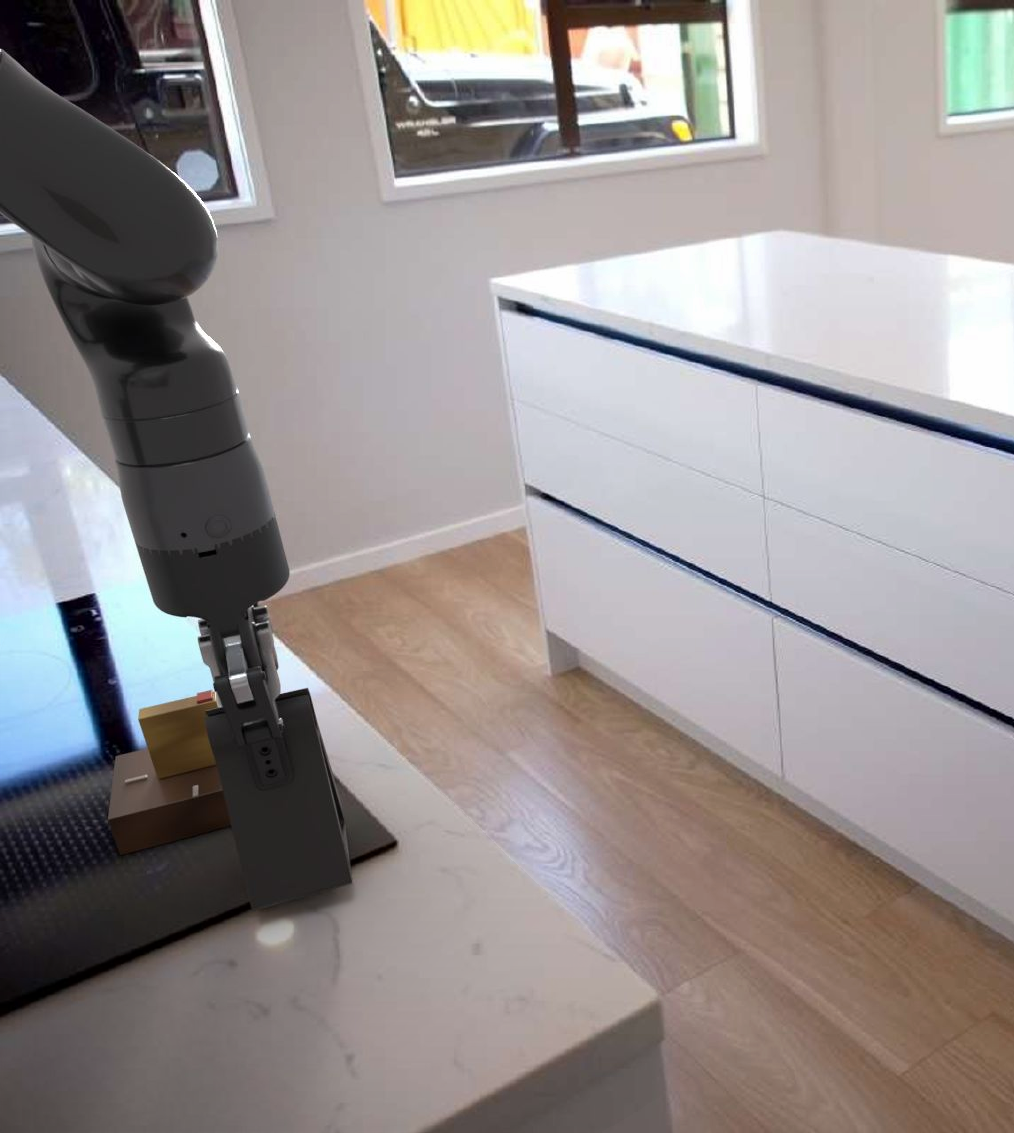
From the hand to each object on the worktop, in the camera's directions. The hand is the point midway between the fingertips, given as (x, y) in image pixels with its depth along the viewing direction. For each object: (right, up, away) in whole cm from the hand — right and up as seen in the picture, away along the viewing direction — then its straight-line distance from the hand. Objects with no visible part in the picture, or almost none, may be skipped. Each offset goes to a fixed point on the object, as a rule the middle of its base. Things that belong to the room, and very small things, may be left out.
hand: (274, 768), depth 82 cm
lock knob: (-11, -1, +11) cm, 15 cm away
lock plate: (-10, -4, +12) cm, 17 cm away
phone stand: (0, -7, +3) cm, 7 cm away
